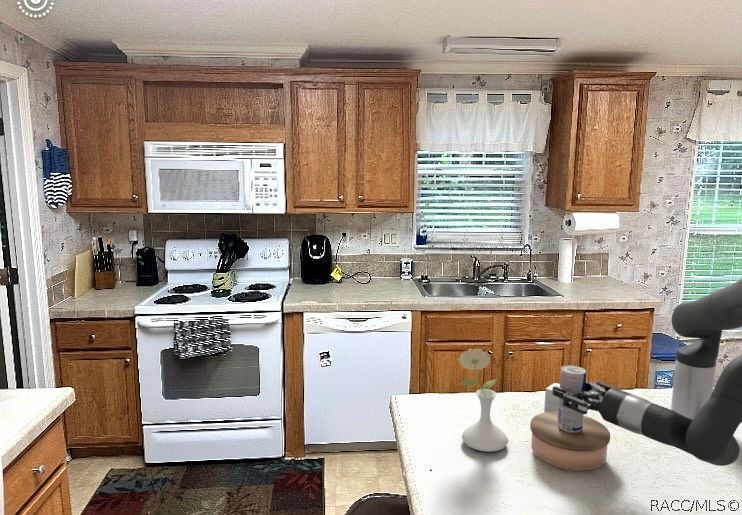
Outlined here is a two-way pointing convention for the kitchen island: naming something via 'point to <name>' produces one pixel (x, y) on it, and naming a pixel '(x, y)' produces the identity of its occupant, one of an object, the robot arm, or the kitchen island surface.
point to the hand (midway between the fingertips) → (564, 386)
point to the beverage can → (573, 382)
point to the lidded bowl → (569, 442)
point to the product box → (551, 399)
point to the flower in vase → (482, 407)
